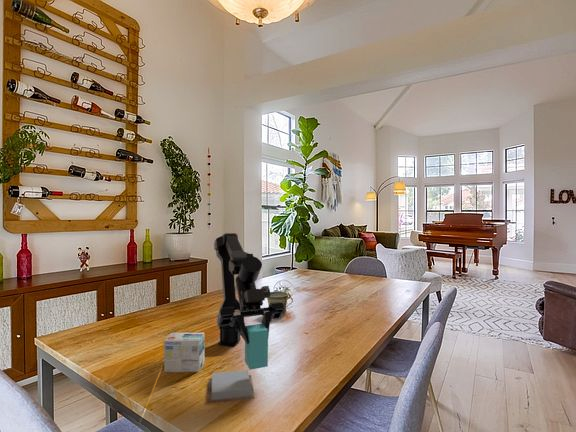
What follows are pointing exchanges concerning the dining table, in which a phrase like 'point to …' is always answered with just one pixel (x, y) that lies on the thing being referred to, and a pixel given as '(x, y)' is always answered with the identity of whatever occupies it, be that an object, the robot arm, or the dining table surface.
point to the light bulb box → (184, 352)
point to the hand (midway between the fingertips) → (257, 342)
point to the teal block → (256, 346)
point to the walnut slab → (209, 399)
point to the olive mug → (279, 298)
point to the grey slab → (231, 385)
